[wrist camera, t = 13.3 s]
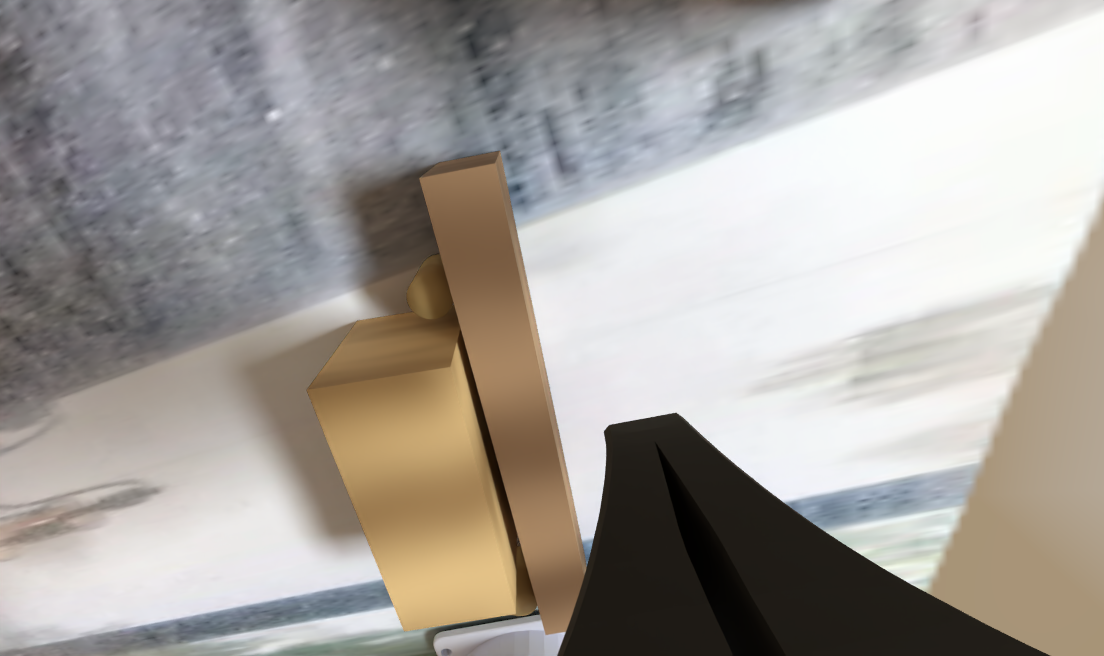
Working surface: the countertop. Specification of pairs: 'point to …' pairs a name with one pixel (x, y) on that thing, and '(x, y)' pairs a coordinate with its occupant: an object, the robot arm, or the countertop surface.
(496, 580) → the tan wooden block
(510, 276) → the wall ledge
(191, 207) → the countertop surface
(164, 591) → the countertop surface
